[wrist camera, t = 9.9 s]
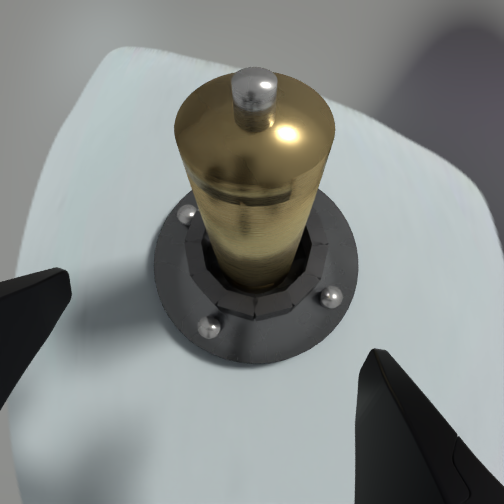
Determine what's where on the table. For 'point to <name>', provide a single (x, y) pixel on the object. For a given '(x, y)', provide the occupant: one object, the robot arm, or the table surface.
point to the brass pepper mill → (254, 168)
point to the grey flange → (256, 305)
